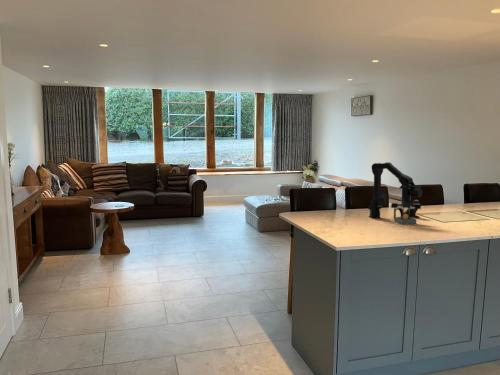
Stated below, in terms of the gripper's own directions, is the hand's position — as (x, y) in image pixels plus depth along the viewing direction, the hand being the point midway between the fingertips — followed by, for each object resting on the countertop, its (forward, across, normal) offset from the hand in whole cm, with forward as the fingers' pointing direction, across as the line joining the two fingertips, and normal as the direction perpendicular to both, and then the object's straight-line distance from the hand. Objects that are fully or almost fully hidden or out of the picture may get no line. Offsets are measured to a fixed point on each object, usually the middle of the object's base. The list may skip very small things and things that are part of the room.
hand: (405, 218), depth 284 cm
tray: (+3, 0, 0) cm, 3 cm away
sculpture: (+3, +4, +24) cm, 25 cm away
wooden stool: (+3, -4, +12) cm, 13 cm away
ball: (-1, 0, 0) cm, 1 cm away
